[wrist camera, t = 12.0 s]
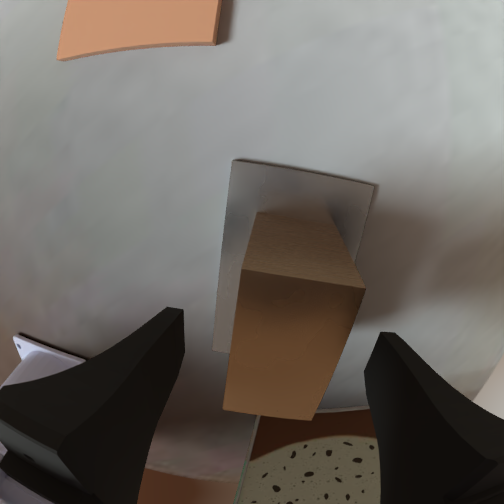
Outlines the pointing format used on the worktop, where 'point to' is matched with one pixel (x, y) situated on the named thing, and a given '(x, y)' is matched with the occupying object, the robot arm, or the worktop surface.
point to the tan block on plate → (287, 285)
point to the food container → (312, 460)
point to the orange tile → (136, 25)
